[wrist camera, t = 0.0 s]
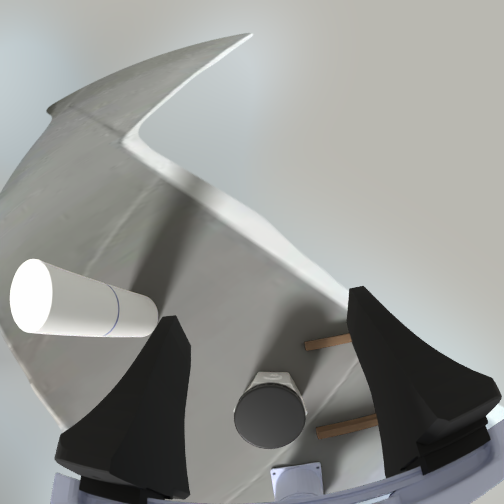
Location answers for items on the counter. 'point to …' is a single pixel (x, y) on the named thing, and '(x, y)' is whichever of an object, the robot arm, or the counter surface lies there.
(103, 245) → the counter surface
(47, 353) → the counter surface
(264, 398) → the jar
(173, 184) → the counter surface
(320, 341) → the bay
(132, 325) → the cylindrical container
